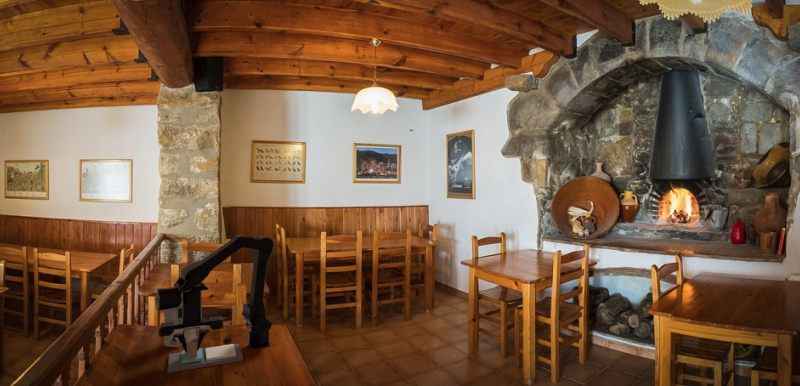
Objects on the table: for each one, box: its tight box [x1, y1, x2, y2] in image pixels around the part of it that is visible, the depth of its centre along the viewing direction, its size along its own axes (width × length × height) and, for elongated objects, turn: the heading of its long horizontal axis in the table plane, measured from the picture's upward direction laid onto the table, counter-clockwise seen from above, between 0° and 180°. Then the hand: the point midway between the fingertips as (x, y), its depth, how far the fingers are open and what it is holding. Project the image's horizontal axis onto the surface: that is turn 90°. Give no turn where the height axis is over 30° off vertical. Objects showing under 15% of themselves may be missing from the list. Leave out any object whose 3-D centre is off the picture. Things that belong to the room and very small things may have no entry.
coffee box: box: [163, 302, 197, 348], centre depth 154 cm, size 9×6×16 cm
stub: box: [181, 335, 203, 364], centre depth 139 cm, size 6×9×6 cm, turn 26°
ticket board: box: [167, 343, 244, 374], centre depth 141 cm, size 22×12×2 cm, turn 116°
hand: (192, 351), depth 139 cm, fingers closed on stub, 3 cm apart
